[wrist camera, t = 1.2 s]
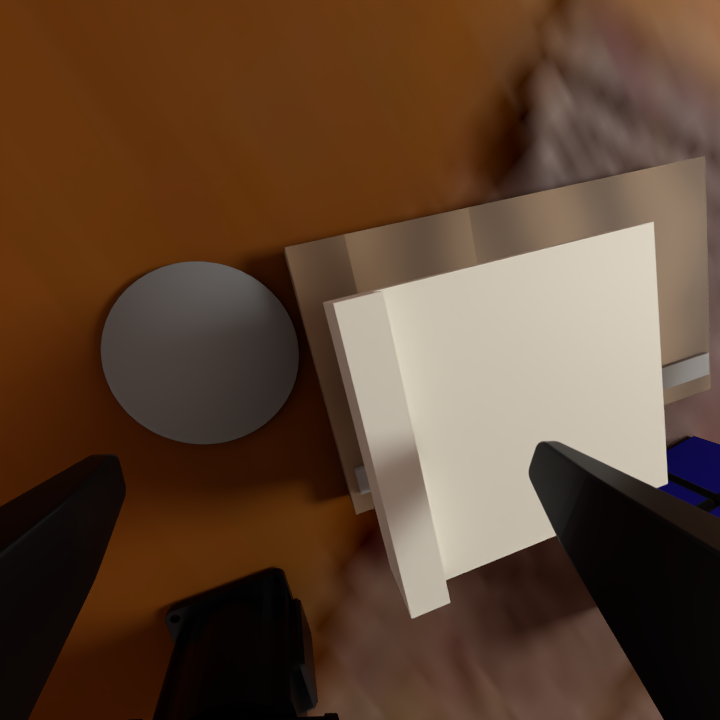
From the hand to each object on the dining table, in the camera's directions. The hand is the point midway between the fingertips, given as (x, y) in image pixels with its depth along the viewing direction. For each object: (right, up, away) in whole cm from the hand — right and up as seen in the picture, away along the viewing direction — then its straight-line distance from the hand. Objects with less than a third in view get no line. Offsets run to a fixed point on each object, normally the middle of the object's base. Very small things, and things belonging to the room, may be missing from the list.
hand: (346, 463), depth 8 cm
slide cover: (+4, +1, +10) cm, 11 cm away
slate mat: (-7, +2, +10) cm, 13 cm away
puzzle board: (+9, +4, +14) cm, 17 cm away
